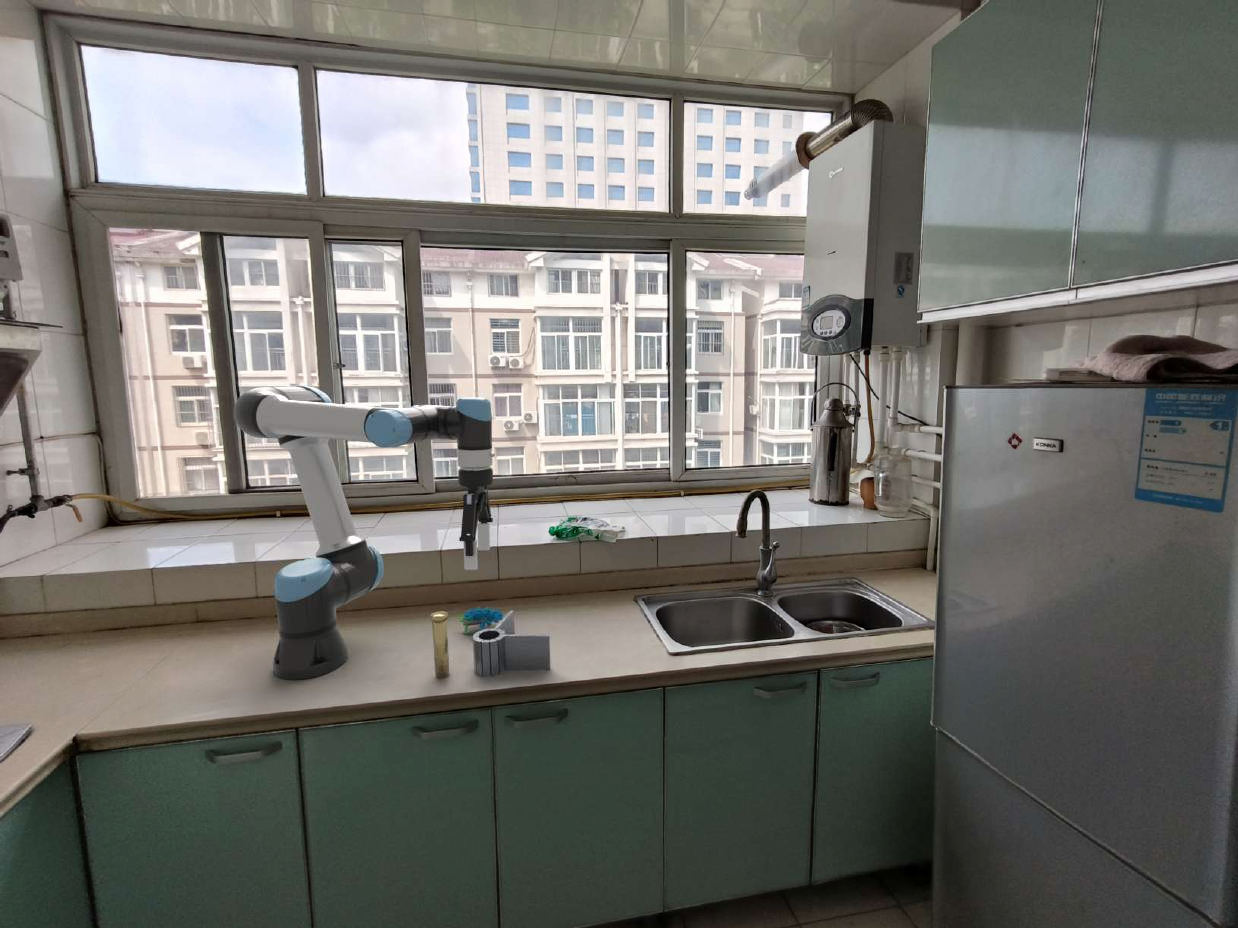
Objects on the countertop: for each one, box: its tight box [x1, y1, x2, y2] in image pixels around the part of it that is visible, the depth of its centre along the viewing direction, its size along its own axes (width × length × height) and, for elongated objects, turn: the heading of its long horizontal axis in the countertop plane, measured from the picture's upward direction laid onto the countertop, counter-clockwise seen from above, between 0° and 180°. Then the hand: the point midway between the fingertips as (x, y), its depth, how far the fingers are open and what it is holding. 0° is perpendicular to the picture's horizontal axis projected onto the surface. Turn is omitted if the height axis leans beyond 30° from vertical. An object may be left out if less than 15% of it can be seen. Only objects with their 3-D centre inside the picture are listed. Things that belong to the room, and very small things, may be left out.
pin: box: [429, 610, 450, 680], centre depth 126 cm, size 4×4×14 cm
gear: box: [459, 606, 504, 635], centre depth 148 cm, size 11×6×10 cm
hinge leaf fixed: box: [472, 627, 551, 678], centre depth 129 cm, size 17×7×8 cm, turn 89°
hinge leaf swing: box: [494, 610, 516, 634], centre depth 138 cm, size 10×1×8 cm, turn 169°
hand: (477, 559), depth 131 cm, fingers open, 13 cm apart
